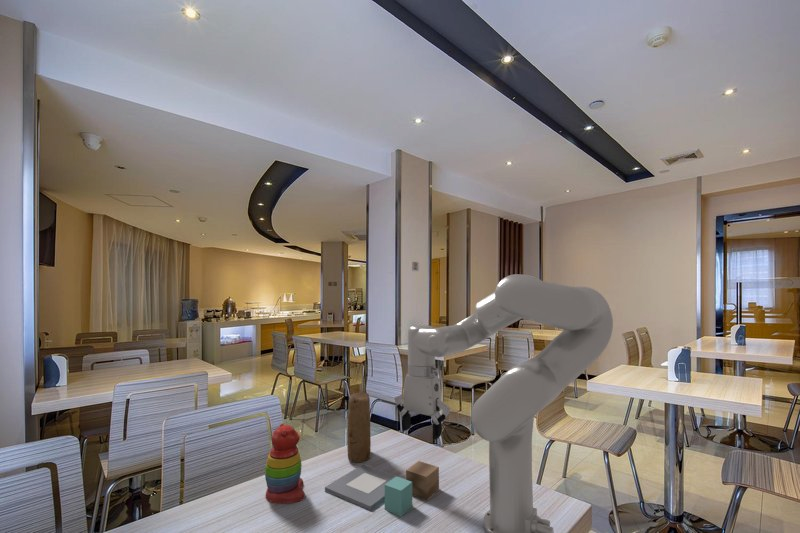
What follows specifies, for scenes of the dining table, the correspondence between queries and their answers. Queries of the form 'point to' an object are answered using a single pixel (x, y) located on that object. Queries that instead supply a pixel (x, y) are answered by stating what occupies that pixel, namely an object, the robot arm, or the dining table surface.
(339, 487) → the plate
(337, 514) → the dining table surface
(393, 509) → the teal block
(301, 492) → the stacking bear
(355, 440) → the brown rounded lumpy part
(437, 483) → the walnut cube
